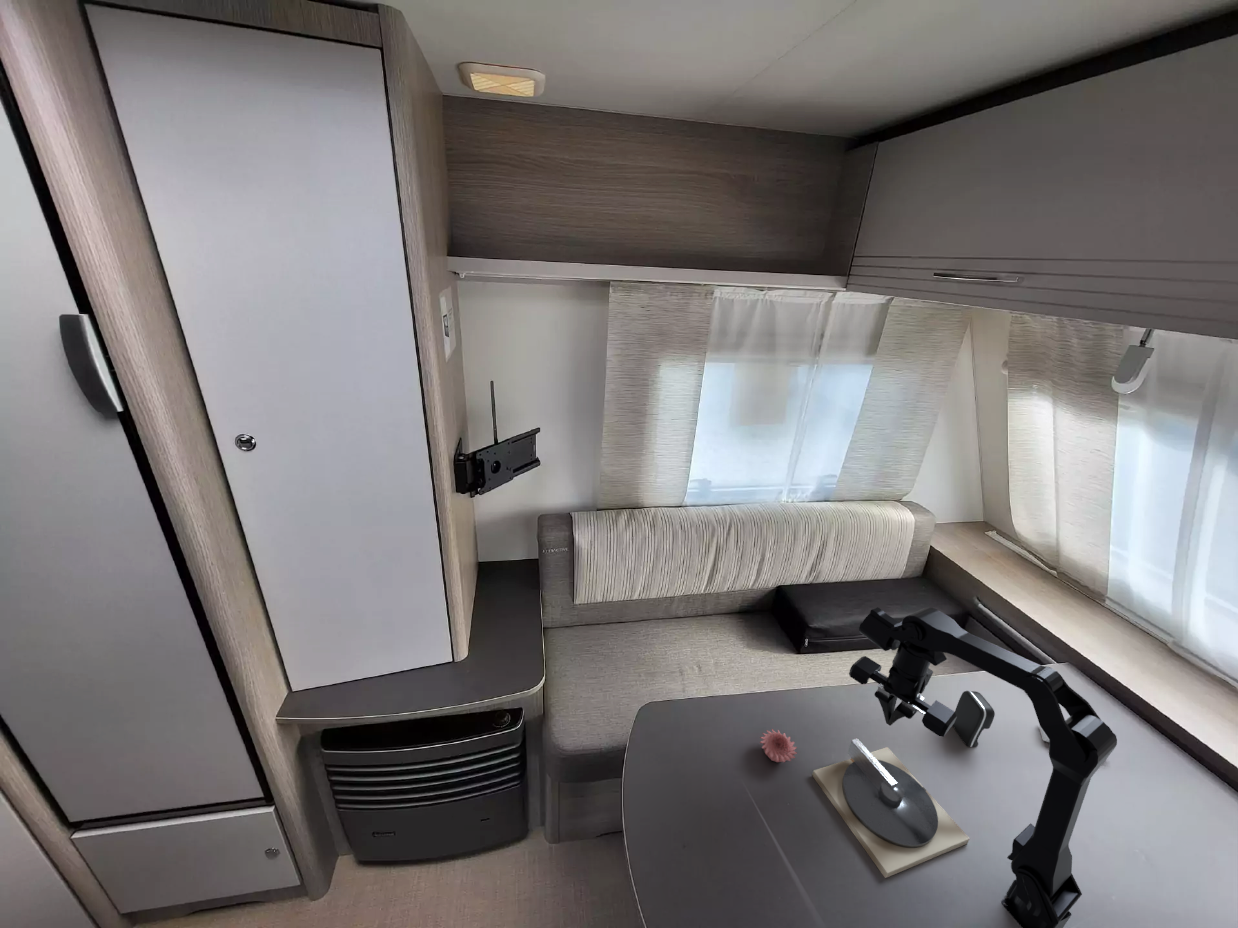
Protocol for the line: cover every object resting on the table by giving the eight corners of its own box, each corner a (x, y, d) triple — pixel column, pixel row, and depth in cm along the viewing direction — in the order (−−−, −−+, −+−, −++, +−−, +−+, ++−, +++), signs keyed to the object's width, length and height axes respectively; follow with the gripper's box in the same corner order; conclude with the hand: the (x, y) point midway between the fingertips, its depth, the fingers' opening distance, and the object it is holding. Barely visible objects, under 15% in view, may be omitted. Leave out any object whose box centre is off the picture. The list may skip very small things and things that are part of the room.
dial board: (967, 843, 96) (970, 837, 96) (885, 877, 90) (887, 872, 89) (885, 751, 114) (887, 746, 113) (812, 775, 107) (813, 769, 107)
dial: (956, 829, 97) (965, 811, 95) (890, 861, 91) (898, 842, 89) (878, 745, 113) (884, 728, 111) (817, 767, 107) (822, 749, 105)
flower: (786, 739, 115) (790, 722, 113) (800, 773, 108) (805, 754, 105) (752, 740, 114) (756, 722, 112) (763, 774, 107) (768, 755, 105)
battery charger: (983, 749, 116) (1000, 712, 111) (966, 748, 116) (983, 711, 111) (963, 723, 122) (979, 687, 118) (948, 722, 122) (963, 686, 118)
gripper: (978, 677, 97) (953, 735, 103) (882, 623, 110) (864, 677, 116) (956, 705, 91) (930, 765, 97) (856, 644, 104) (839, 700, 110)
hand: (889, 723), depth 105 cm, fingers closed
